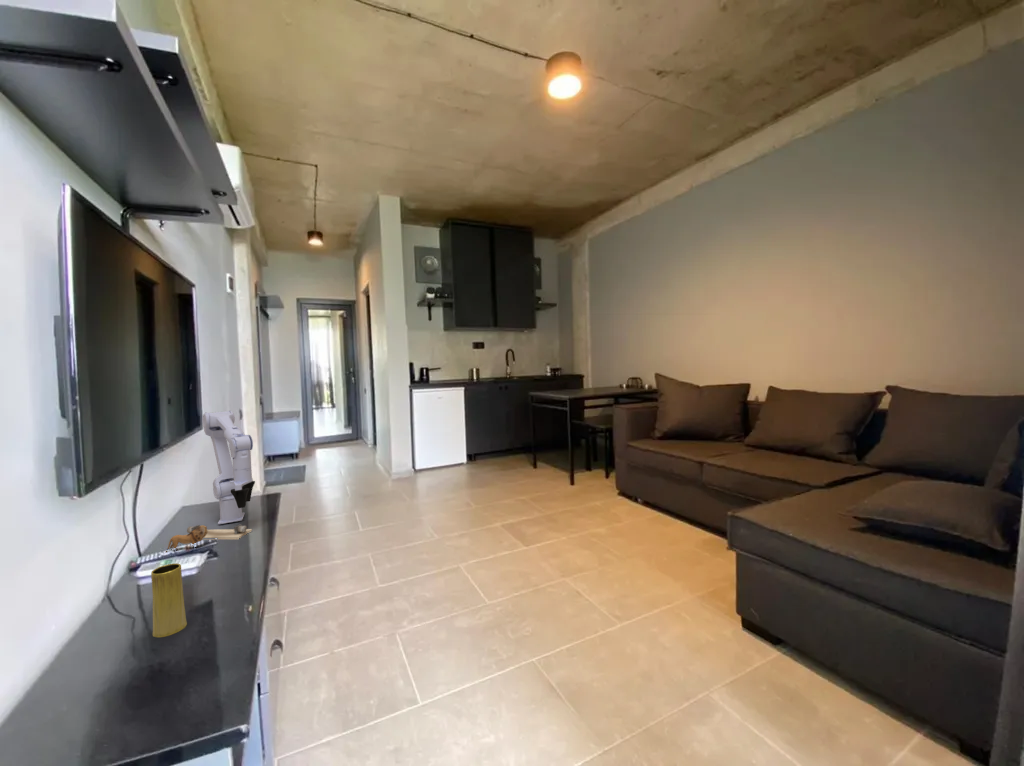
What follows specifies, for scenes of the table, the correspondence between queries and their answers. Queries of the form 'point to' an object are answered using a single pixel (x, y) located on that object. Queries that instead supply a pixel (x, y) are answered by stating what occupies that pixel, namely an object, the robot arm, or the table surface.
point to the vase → (168, 600)
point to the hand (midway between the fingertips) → (244, 504)
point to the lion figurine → (189, 537)
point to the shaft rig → (224, 532)
